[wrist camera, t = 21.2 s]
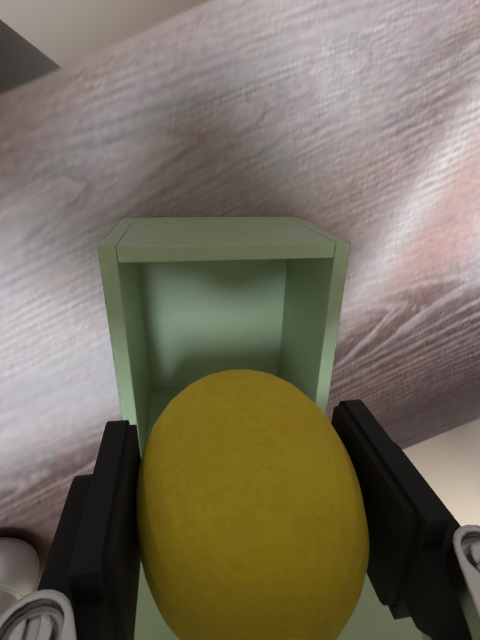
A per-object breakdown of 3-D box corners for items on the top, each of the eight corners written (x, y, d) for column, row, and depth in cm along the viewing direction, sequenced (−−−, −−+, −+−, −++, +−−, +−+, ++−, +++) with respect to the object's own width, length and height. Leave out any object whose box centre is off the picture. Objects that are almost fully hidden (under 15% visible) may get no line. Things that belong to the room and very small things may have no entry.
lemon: (118, 421, 13) (46, 765, 6) (203, 296, 11) (253, 539, 4) (243, 471, 15) (310, 772, 8) (329, 370, 13) (511, 619, 6)
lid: (17, 928, 7) (46, 1101, 8) (559, 774, 9) (538, 924, 9) (129, 477, 21) (135, 552, 22) (322, 455, 23) (321, 525, 24)
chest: (122, 217, 24) (96, 246, 16) (297, 216, 26) (351, 242, 18) (142, 392, 30) (130, 477, 22) (283, 381, 32) (320, 456, 24)
